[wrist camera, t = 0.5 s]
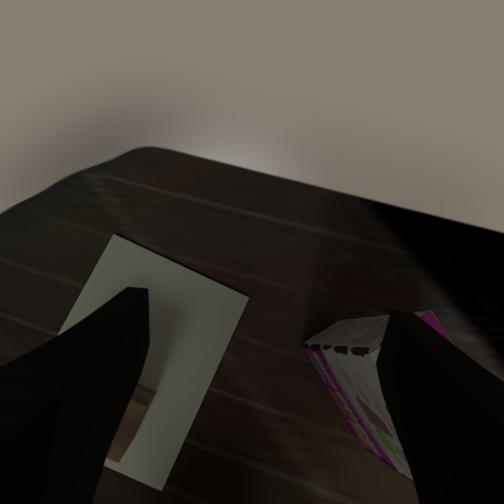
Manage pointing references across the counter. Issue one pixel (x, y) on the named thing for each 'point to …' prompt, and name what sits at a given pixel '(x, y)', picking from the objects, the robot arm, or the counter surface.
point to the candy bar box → (361, 380)
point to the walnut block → (131, 422)
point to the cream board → (165, 346)
